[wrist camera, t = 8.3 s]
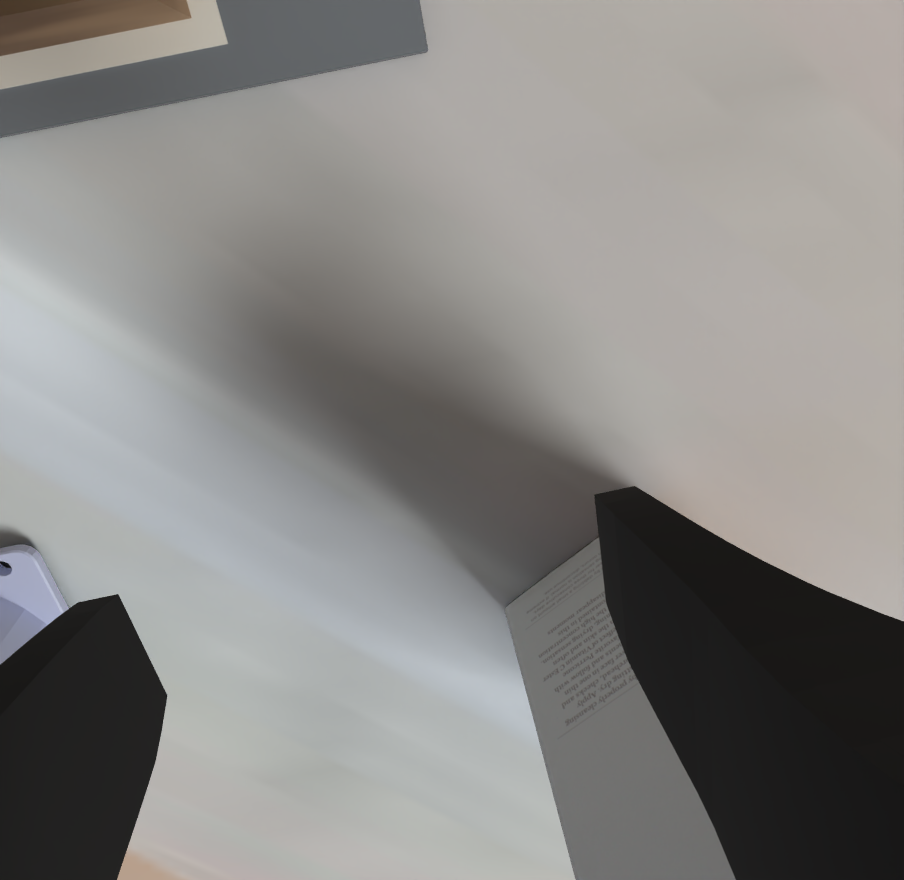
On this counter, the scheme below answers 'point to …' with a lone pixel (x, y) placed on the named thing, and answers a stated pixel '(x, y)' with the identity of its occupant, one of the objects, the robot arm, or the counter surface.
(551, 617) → the small box
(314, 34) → the mat
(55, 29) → the walnut block
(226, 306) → the counter surface
